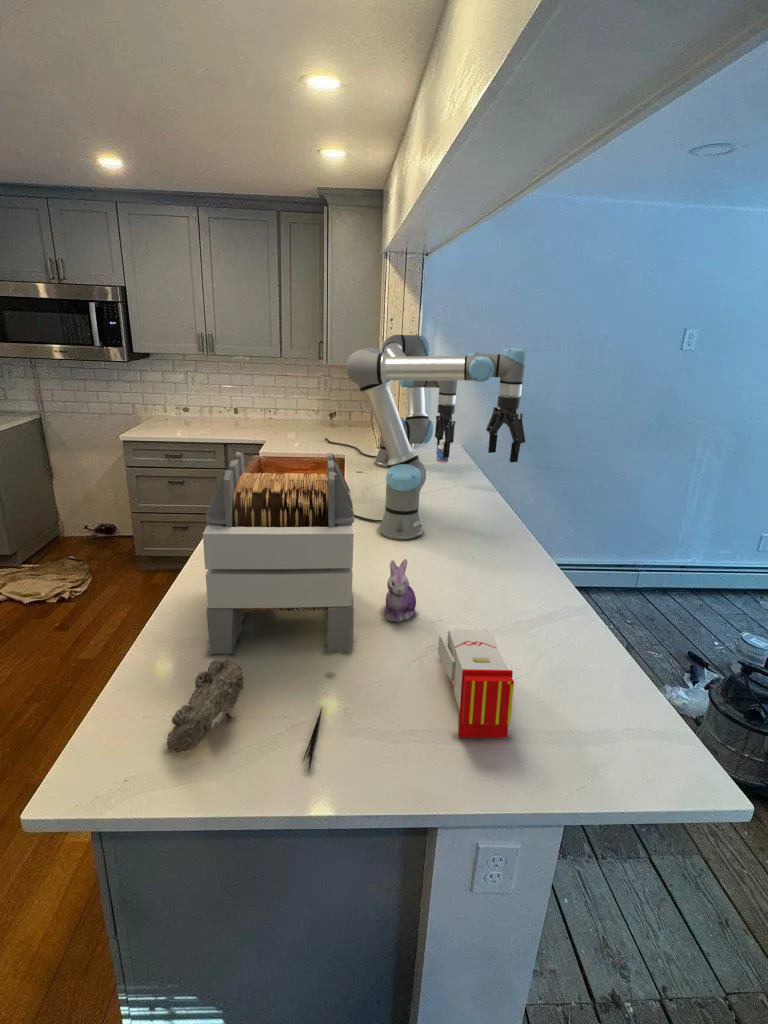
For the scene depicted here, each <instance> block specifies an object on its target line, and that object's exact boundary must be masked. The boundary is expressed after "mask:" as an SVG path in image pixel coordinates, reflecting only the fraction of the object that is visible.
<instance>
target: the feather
mask: <svg viewBox="0 0 768 1024" xmlns="http://www.w3.org/2000/svg"><path fill="white" fill-rule="evenodd" d="M329 675H330V676H331V675H332V674H331V673H330V674H329ZM322 710H323V707H321V708H320V710H319V713H318V716H317V719H316V723H315V725H314V728H313V731H312V733H311V737H310V739H309V742H308V745H307V748H306V751H305V754H304V757H303V760H302V763H301V767H302V765H303V763H304V761H305V758H308V759H309V760H308V762H307V763H308V764H307V766H308V771H310V770H311V766H312V765H311V764H312V760H313V757H315V756H314V755H315V751H316V749H315V746H317V739H318V733H319V729H320V722H321V717H322V712H323V711H322ZM313 754H314V755H313ZM306 755H307V757H306Z"/></svg>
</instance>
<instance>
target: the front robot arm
mask: <svg viewBox="0 0 768 1024" xmlns="http://www.w3.org/2000/svg"><path fill="white" fill-rule="evenodd" d="M526 354H527V353H526V351H525V350H524V349H522V348H508V347H507V348H503V350H502V353H500V354H499V353H497V354H496V353H483V352H468V353H467V354H466V355H464V356H463V355H457V356H456V355H455V356H454V355H447V356H443V355H441V356H439V355H438V356H436V355H435V356H433V355H432V356H431V355H429V356H420V357H388V356H387V355H386V354H384V353H383V352H382V350H380V349H378V348H376V347H372V346H371V347H365V348H362V349H358V350H356V351H354V352H353V353H351V354H350V356H349V357H348V358H347V360H346V365H345V369H346V374H347V376H348V378H349V380H351V381H352V382H353V383H355V384H356V385H357V386H358V387H359V391H360V393H362V394H363V395H365V396H366V397H367V401H368V402H369V407H370V408H371V411H372V414H373V417H374V419H375V422H376V425H377V427H378V431H379V434H380V433H381V436H382V439H383V442H384V445H385V447H386V450H387V453H388V456H389V460H388V462H387V465H388V468H387V469H388V470H387V471H386V476H385V483H386V485H385V504H384V505H385V507H384V508H385V509H384V513H383V515H382V519H373V518H368V517H363V516H360V515H356V514H354V518H356V519H360V520H363V521H368V522H373V523H379V526H378V533H379V534H380V535H381V536H382V537H385V538H387V539H389V540H395V541H410V540H415V539H418V538H420V537H421V536H422V535H423V525H422V524H421V518H420V515H419V507H420V506H419V505H420V494H421V490H422V489H423V486H424V485H425V482H426V478H427V471H426V468H425V466H424V464H423V462H422V461H421V460H420V457H419V456H418V452H416V451H414V450H412V448H411V444H409V442H408V439H407V436H406V433H405V430H404V427H403V424H402V421H401V419H400V417H401V416H400V414H399V411H398V408H397V405H396V401H395V399H394V396H393V393H392V390H391V384H392V382H393V381H394V382H395V381H398V382H399V381H413V380H457V381H467V382H468V381H471V382H472V381H475V382H478V383H484V382H486V381H489V380H490V379H491V378H499V384H498V385H499V386H498V392H497V393H498V397H497V404H496V405H497V406H495V407H493V411H492V414H491V417H490V419H489V422H488V424H487V426H486V430H485V431H486V432H488V435H489V437H488V438H489V440H488V448H487V449H488V451H487V453H489V454H492V453H494V454H495V453H497V446H498V445H497V444H498V437H499V436H498V435H499V433H498V431H499V430H500V428H501V427H502V426H503V424H505V425H506V426H507V427H508V429H509V432H510V435H511V438H512V439H511V440H512V442H511V446H510V455H509V463H518V462H519V461H518V460H519V454H520V449H521V445H522V444H524V443H526V436H525V430H524V424H523V413H520V412H519V413H517V411H518V409H520V407H521V399H522V398H521V397H520V396H522V390H523V389H522V388H523V383H524V375H525V368H526V367H525V366H526V356H527V355H526Z"/></svg>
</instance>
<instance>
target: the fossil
mask: <svg viewBox="0 0 768 1024" xmlns="http://www.w3.org/2000/svg"><path fill="white" fill-rule="evenodd" d="M243 670H244V669H243V667H242V665H240V664H237V662H236V661H235V660H234V659H232V658H231V659H227V658H226V659H224V660H223V661H222V660H217V659H212V660H211V661H210V663H209V665H208V666H207V671H201V672H199V673H198V674H197V675H196V676H195V680H194V684H195V685H194V687H195V689H194V690H193V693H192V694H191V697H190V698H189V700H188V704H184V705H182V706H181V707H180V709H177V710H176V711H175V713H174V715H173V716H172V718H171V723H172V724H173V727H172V730H171V731H170V732H168V734H167V738H166V741H167V742H166V745H167V749H168V750H169V751H173V752H174V753H176V754H178V753H182V752H188V751H189V752H192V751H193V750H195V748H196V747H197V746H199V744H200V743H201V742H203V741H204V740H205V739H206V738H207V737H208V736H209V735H210V734H211V733H212V732H214V730H215V729H217V727H218V726H219V724H220V722H221V721H222V720H223V719H224V718H225V716H226V717H227V719H229V720H233V717H232V715H230V714H229V710H230V709H231V708H234V706H235V704H236V703H237V702H238V699H239V697H240V695H241V693H242V691H243V690H245V689H244V688H245V675H244V671H243Z"/></svg>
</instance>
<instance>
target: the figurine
mask: <svg viewBox="0 0 768 1024" xmlns="http://www.w3.org/2000/svg"><path fill="white" fill-rule="evenodd" d="M407 567H408V559H406V558H404V559H403V560H402V561H401V563H400V565H399V566H398V565H397V563H396V562H395V561H394V560H393V559H391V560H390V561H389V570H390V576H389V578H388V579H387V589H388V591H387V592H386V594H385V595H386V596H385V607H384V615H385V616H386V620H387V621H391V622H395V623H400V622H402V621H406V620H409V619H410V618H411V617H413V616H414V615H415V610H416V606H417V597H416V593H415V591H414V590H413V587H411V586H410V582H409V579H408V577H407V574H406V571H407Z"/></svg>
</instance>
